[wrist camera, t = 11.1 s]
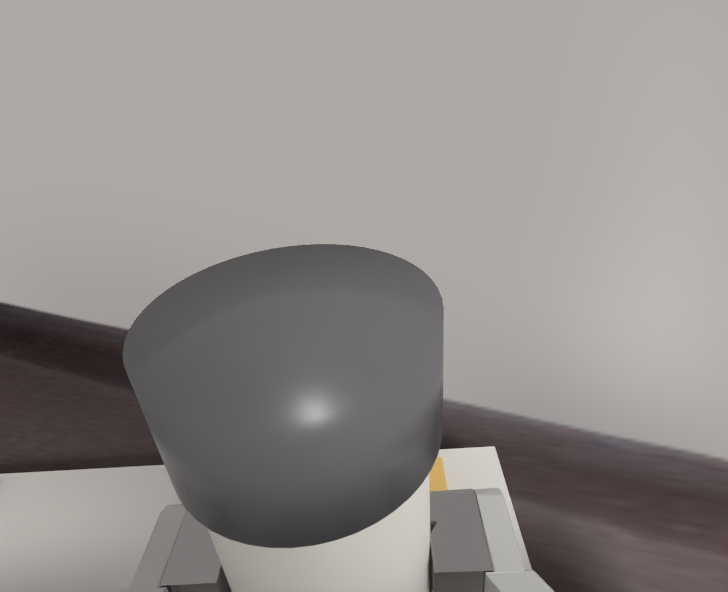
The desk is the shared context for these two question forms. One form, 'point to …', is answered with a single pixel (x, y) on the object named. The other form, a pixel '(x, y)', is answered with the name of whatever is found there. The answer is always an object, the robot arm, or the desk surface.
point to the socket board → (138, 519)
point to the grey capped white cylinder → (300, 414)
